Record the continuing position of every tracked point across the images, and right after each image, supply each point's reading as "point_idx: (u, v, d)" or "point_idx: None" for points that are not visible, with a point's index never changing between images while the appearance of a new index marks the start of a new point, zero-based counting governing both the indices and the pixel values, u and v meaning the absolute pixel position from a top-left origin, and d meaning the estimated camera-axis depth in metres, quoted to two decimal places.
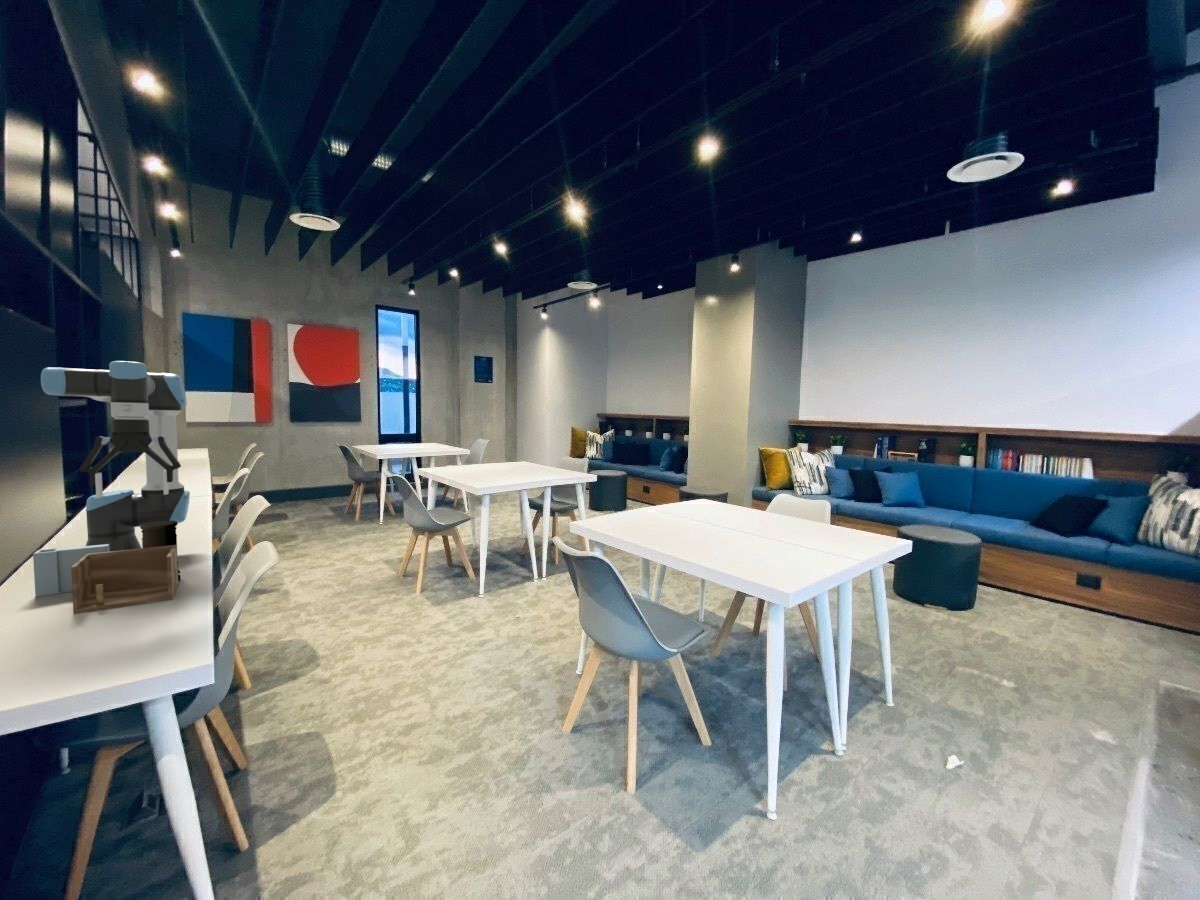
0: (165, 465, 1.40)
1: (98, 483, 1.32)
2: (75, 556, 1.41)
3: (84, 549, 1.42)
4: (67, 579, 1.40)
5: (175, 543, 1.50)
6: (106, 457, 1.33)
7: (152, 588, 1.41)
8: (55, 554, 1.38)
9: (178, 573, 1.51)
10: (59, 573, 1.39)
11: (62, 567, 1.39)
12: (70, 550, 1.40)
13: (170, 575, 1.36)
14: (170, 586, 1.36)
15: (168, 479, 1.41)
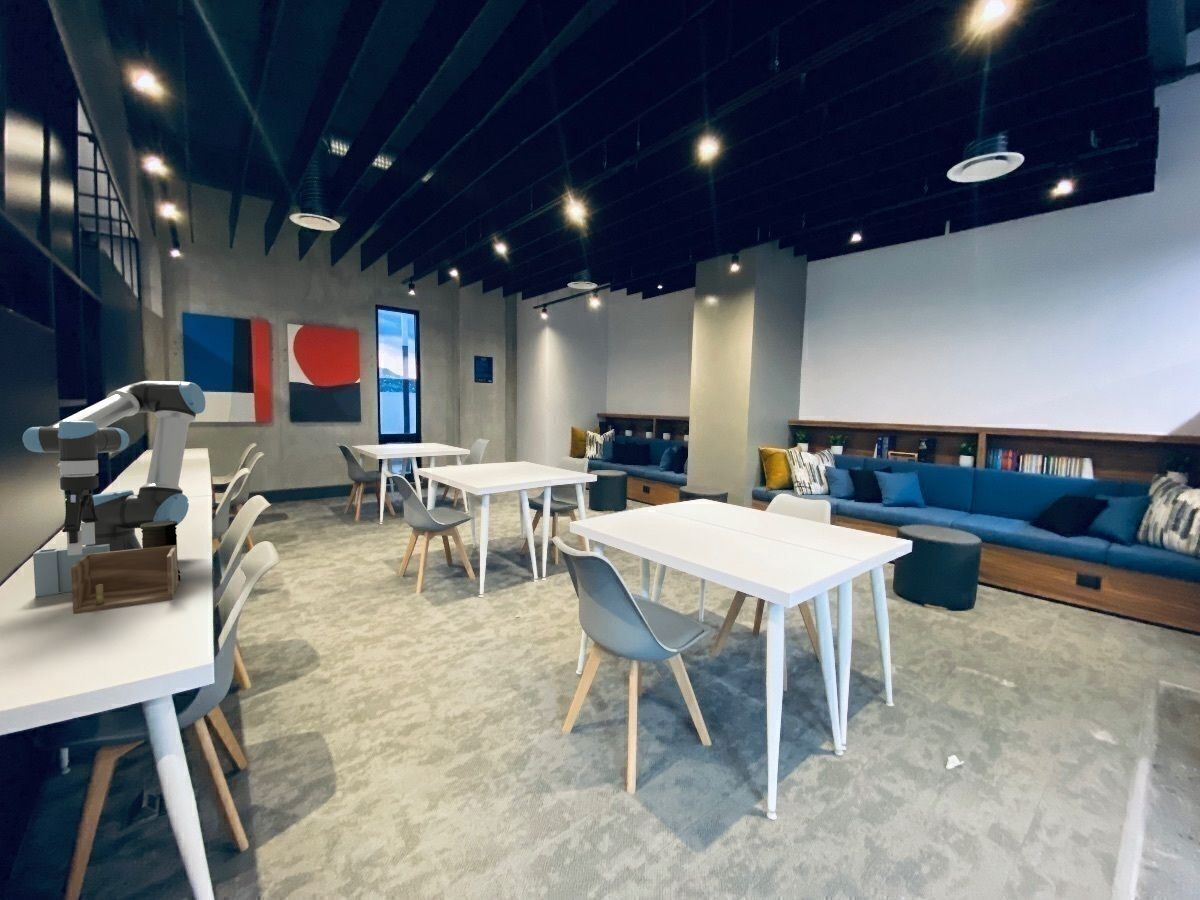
0: None
1: (81, 532, 1.47)
2: (75, 556, 1.41)
3: (84, 549, 1.42)
4: (67, 579, 1.40)
5: (175, 543, 1.50)
6: None
7: (152, 588, 1.41)
8: (55, 554, 1.38)
9: (178, 573, 1.51)
10: (59, 573, 1.39)
11: (62, 567, 1.39)
12: None
13: (170, 575, 1.36)
14: (170, 586, 1.36)
15: None
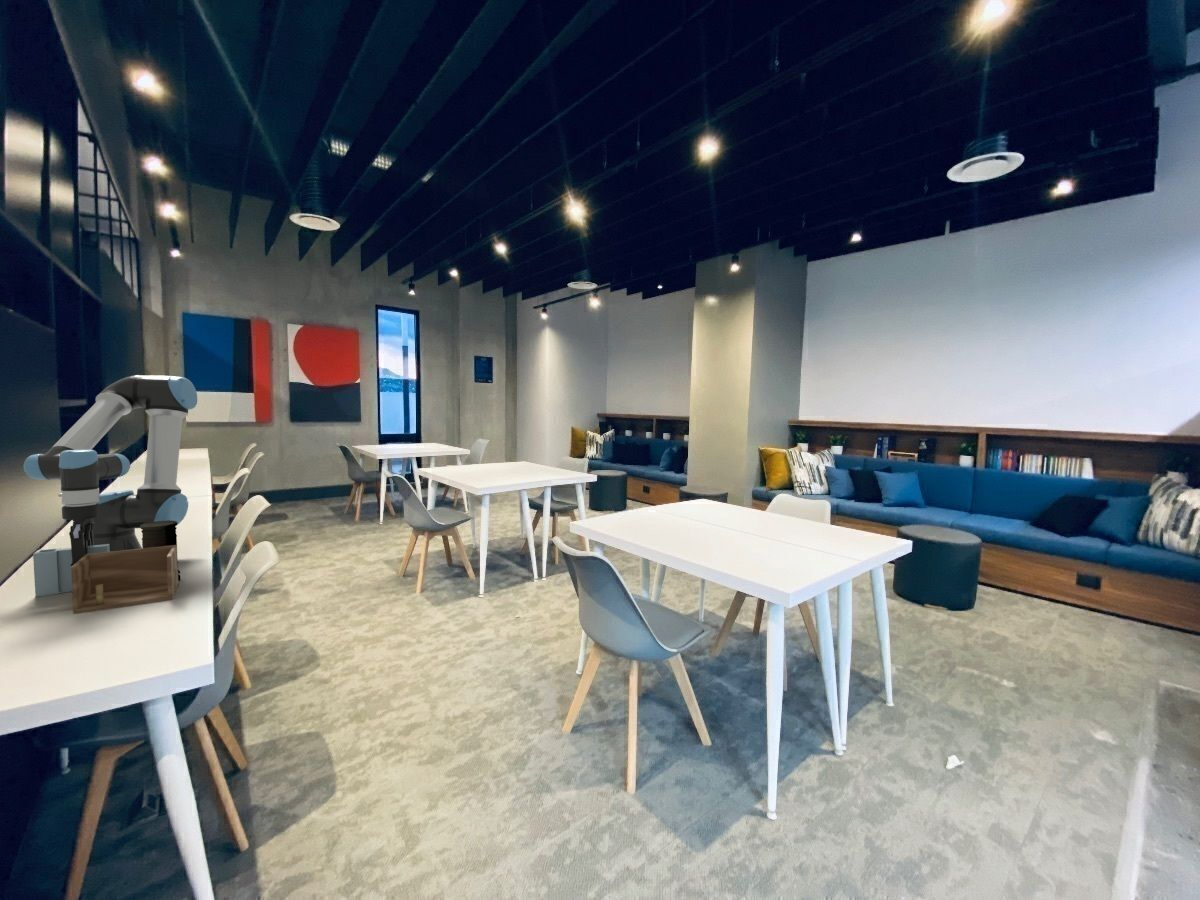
0: None
1: None
2: None
3: None
4: (67, 579, 1.40)
5: (175, 543, 1.50)
6: None
7: (152, 588, 1.41)
8: (55, 554, 1.38)
9: (178, 573, 1.51)
10: (59, 573, 1.39)
11: (62, 567, 1.39)
12: (70, 550, 1.40)
13: (170, 575, 1.36)
14: (170, 586, 1.36)
15: None
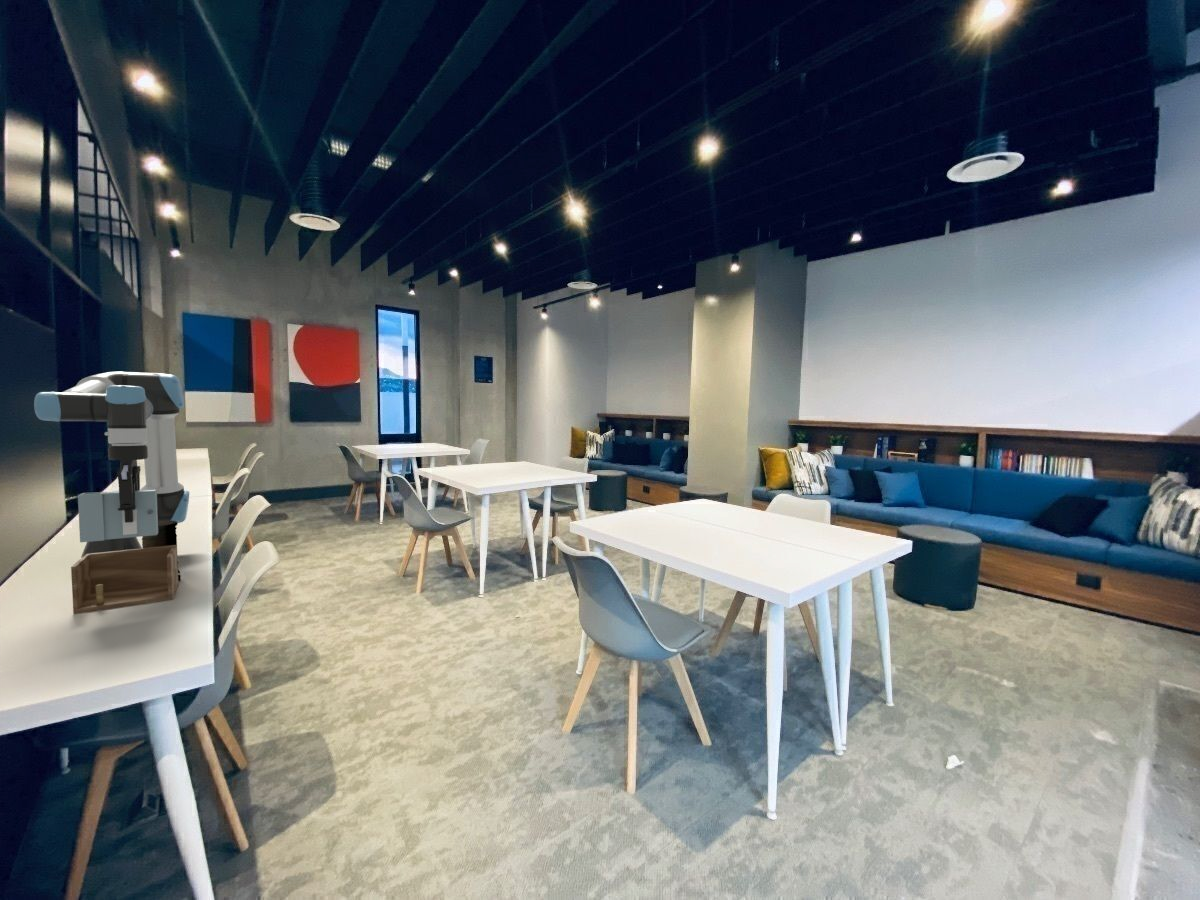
0: None
1: None
2: None
3: None
4: (113, 525, 1.29)
5: (175, 543, 1.50)
6: None
7: (152, 588, 1.41)
8: (101, 497, 1.27)
9: (178, 573, 1.51)
10: (105, 518, 1.28)
11: (108, 512, 1.29)
12: (116, 493, 1.29)
13: (170, 575, 1.36)
14: (170, 586, 1.36)
15: None
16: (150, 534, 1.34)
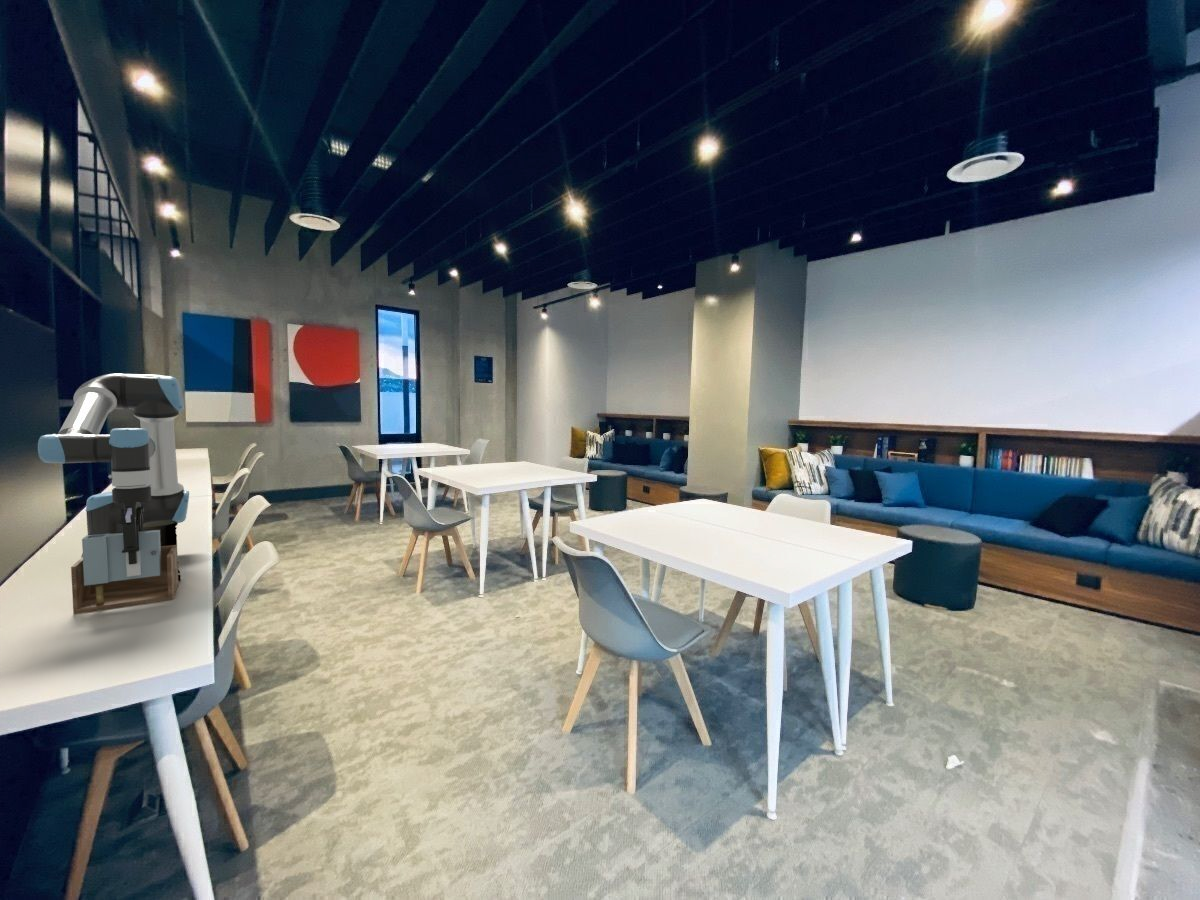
0: None
1: None
2: None
3: None
4: (117, 567, 1.30)
5: (175, 543, 1.50)
6: None
7: (152, 588, 1.41)
8: (105, 540, 1.28)
9: (178, 573, 1.51)
10: (109, 560, 1.29)
11: (112, 554, 1.29)
12: (120, 536, 1.30)
13: (170, 575, 1.36)
14: (170, 586, 1.36)
15: None
16: (154, 575, 1.34)
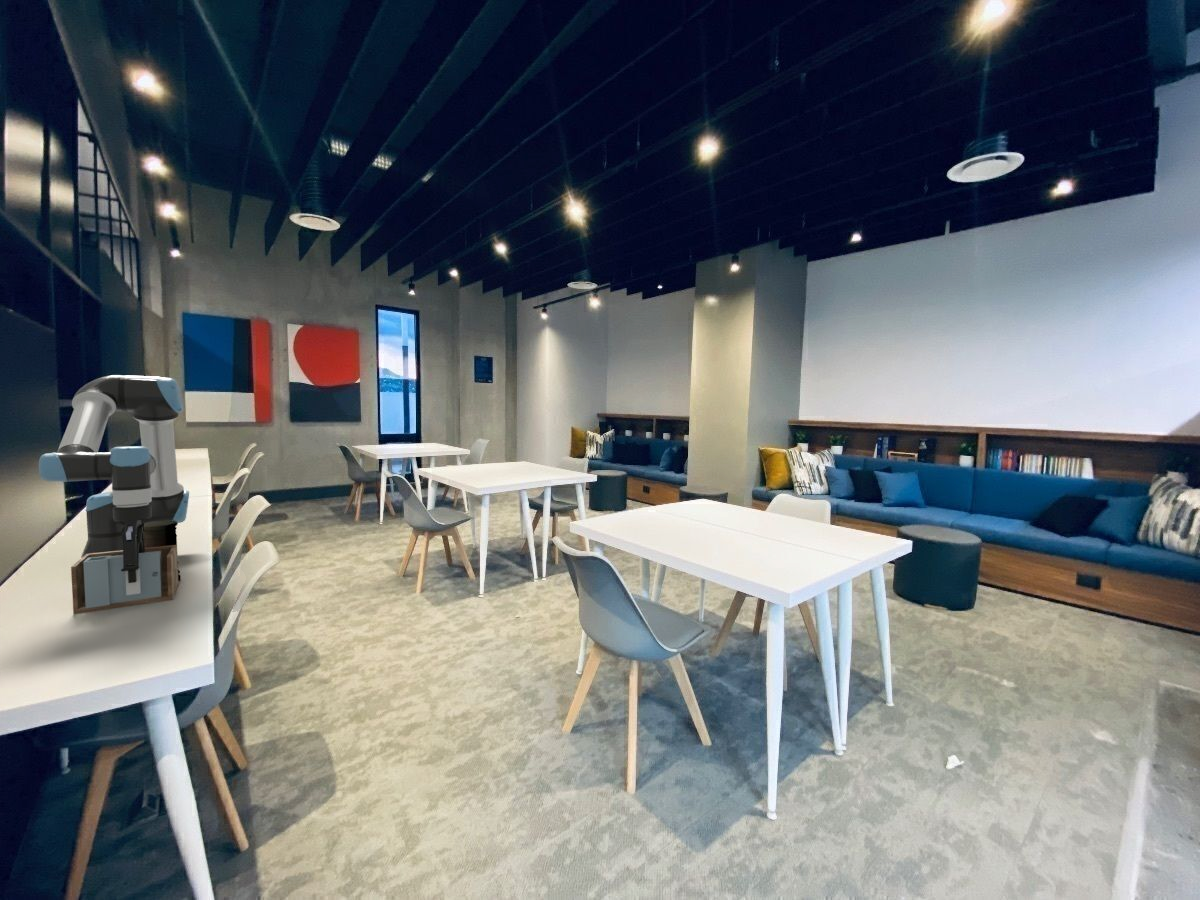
0: None
1: None
2: None
3: None
4: (118, 589, 1.31)
5: (175, 543, 1.50)
6: None
7: None
8: (106, 562, 1.28)
9: (178, 573, 1.51)
10: (110, 582, 1.30)
11: (113, 576, 1.30)
12: (121, 558, 1.31)
13: (170, 575, 1.36)
14: (170, 586, 1.36)
15: None
16: (155, 596, 1.35)
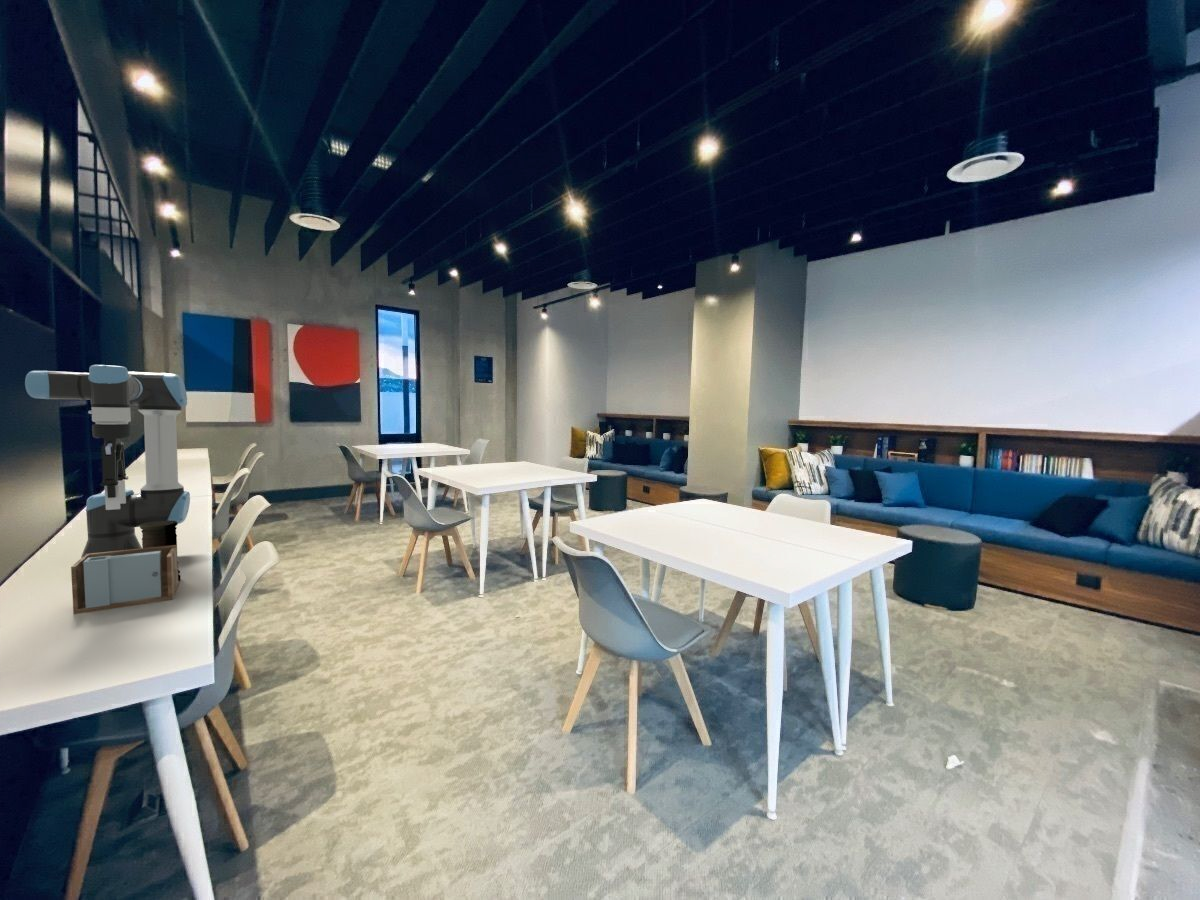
0: None
1: None
2: (126, 564, 1.31)
3: (136, 557, 1.32)
4: (118, 589, 1.31)
5: (175, 543, 1.50)
6: None
7: None
8: (106, 562, 1.28)
9: (178, 573, 1.51)
10: (110, 582, 1.30)
11: (113, 576, 1.30)
12: (121, 558, 1.31)
13: (170, 575, 1.36)
14: (170, 586, 1.36)
15: (108, 494, 1.32)
16: (155, 596, 1.35)
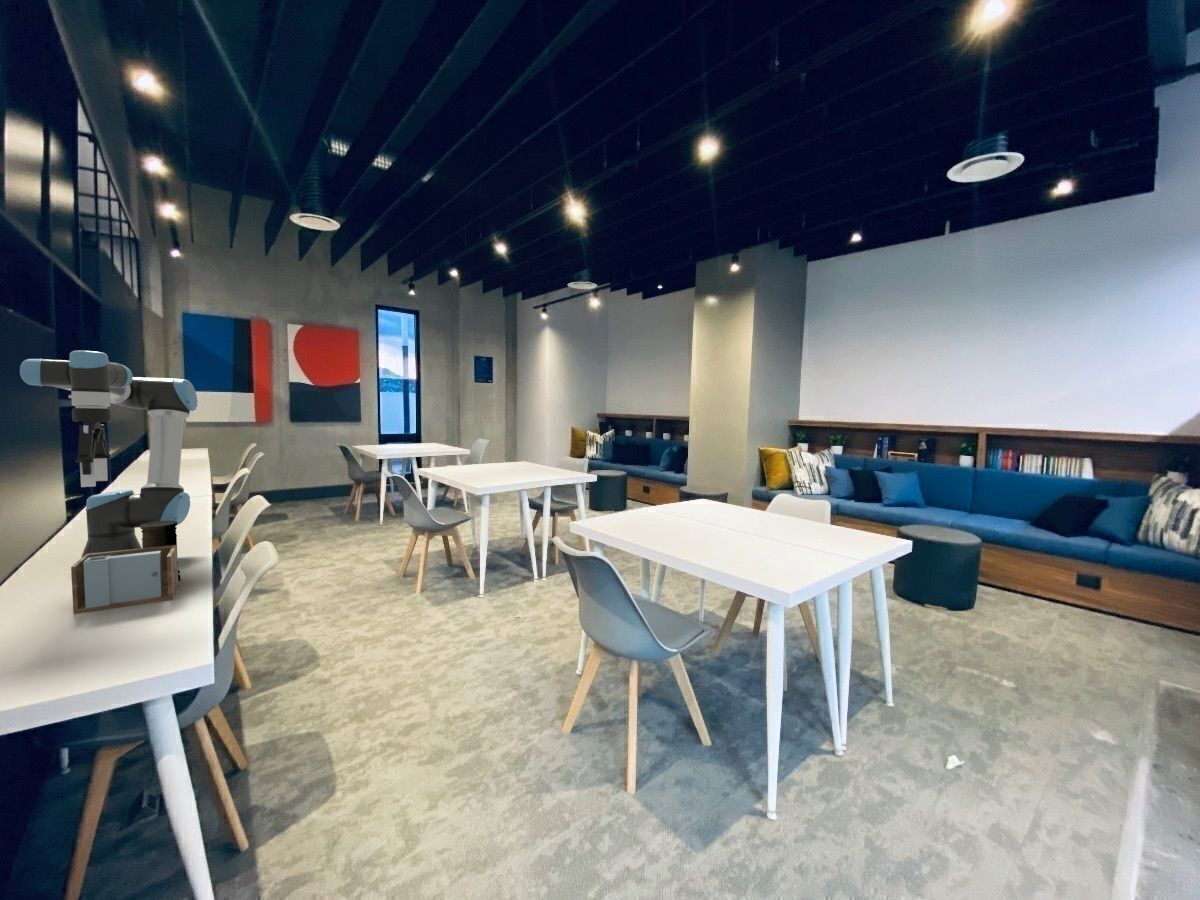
0: None
1: None
2: (126, 564, 1.31)
3: (136, 557, 1.32)
4: (118, 589, 1.31)
5: (175, 543, 1.50)
6: None
7: None
8: (106, 562, 1.28)
9: (178, 573, 1.51)
10: (110, 582, 1.30)
11: (113, 576, 1.30)
12: (121, 558, 1.31)
13: (170, 575, 1.36)
14: (170, 586, 1.36)
15: None
16: (155, 596, 1.35)
